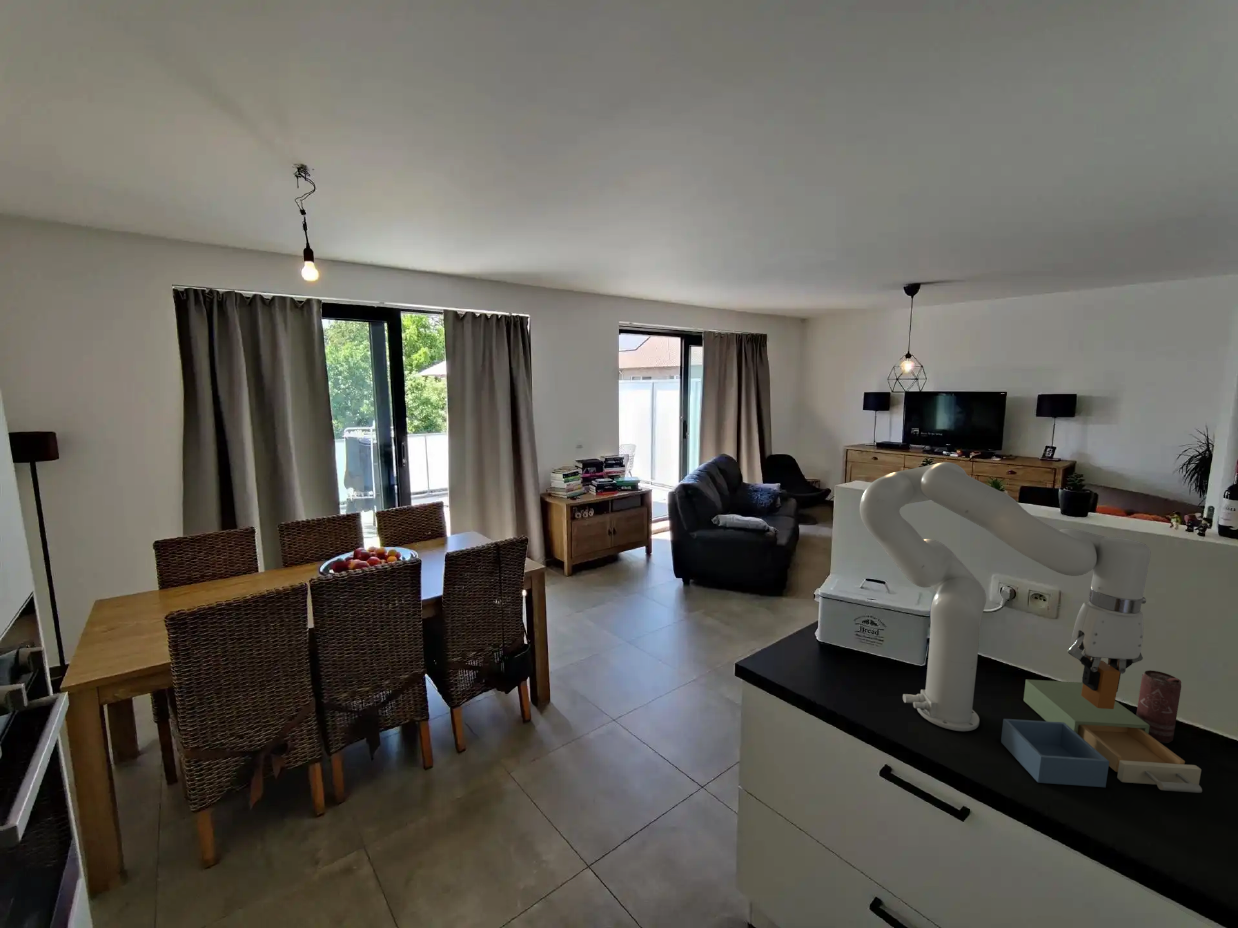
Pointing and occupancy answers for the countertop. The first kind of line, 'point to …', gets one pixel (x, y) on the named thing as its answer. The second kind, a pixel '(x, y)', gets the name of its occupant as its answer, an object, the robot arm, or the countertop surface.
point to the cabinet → (1075, 706)
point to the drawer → (1141, 758)
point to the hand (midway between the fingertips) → (1099, 686)
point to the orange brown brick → (1103, 687)
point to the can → (1159, 704)
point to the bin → (1054, 753)
